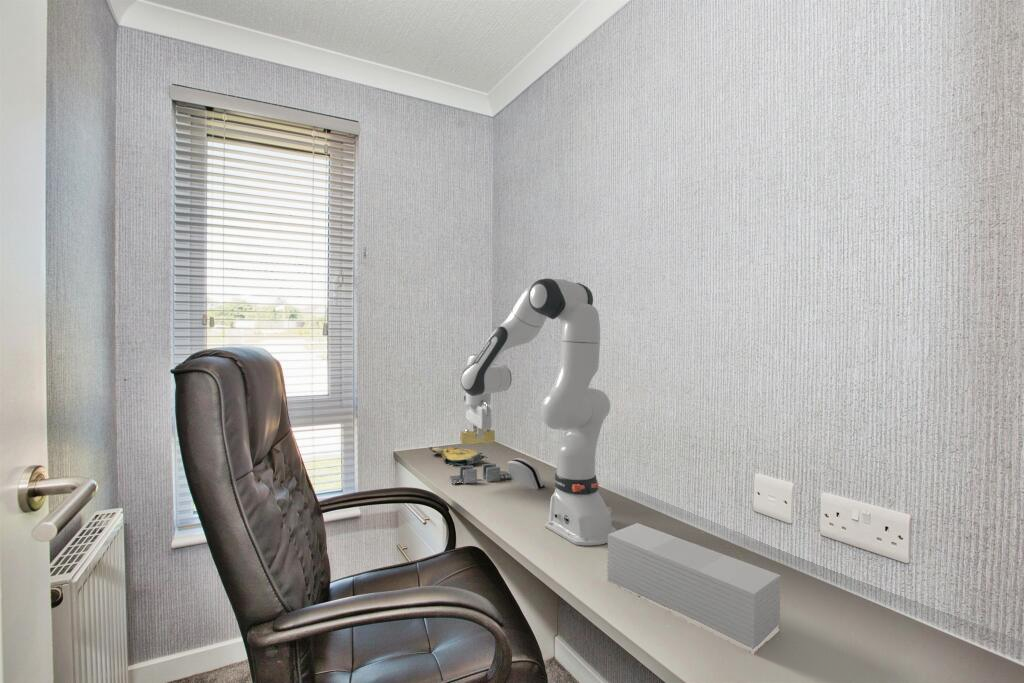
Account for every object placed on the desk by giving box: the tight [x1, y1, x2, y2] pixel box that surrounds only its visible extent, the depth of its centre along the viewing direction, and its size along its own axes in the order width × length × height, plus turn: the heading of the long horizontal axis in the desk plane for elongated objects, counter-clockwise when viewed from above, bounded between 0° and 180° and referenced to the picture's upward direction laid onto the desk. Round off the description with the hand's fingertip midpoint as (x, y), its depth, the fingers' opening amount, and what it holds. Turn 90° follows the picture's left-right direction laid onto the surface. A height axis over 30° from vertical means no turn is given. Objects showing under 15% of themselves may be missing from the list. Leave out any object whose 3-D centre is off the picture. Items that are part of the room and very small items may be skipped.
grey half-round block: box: [506, 457, 547, 491], centre depth 180 cm, size 17×5×10 cm, turn 34°
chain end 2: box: [481, 463, 510, 483], centre depth 185 cm, size 6×9×5 cm, turn 111°
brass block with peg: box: [460, 429, 496, 445], centre depth 175 cm, size 2×12×5 cm, turn 112°
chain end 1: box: [449, 464, 478, 484], centre depth 181 cm, size 6×9×5 cm, turn 111°
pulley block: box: [428, 446, 488, 467], centre depth 212 cm, size 14×6×30 cm
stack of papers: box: [606, 522, 781, 649], centre depth 100 cm, size 32×11×11 cm, turn 40°
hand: (477, 437), depth 175 cm, fingers closed on brass block with peg, 2 cm apart
